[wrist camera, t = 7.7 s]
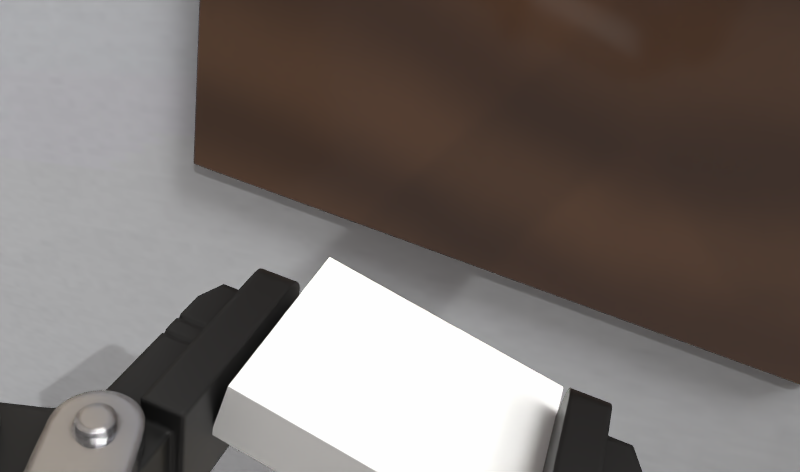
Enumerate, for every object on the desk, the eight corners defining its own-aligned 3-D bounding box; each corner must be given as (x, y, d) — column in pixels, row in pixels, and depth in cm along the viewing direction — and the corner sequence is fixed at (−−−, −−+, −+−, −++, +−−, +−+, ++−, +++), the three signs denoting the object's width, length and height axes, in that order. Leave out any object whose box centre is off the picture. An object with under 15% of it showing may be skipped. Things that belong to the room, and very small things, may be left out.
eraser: (532, 426, 14) (487, 597, 11) (310, 301, 14) (207, 434, 12) (564, 386, 13) (525, 557, 10) (329, 255, 14) (226, 384, 11)
